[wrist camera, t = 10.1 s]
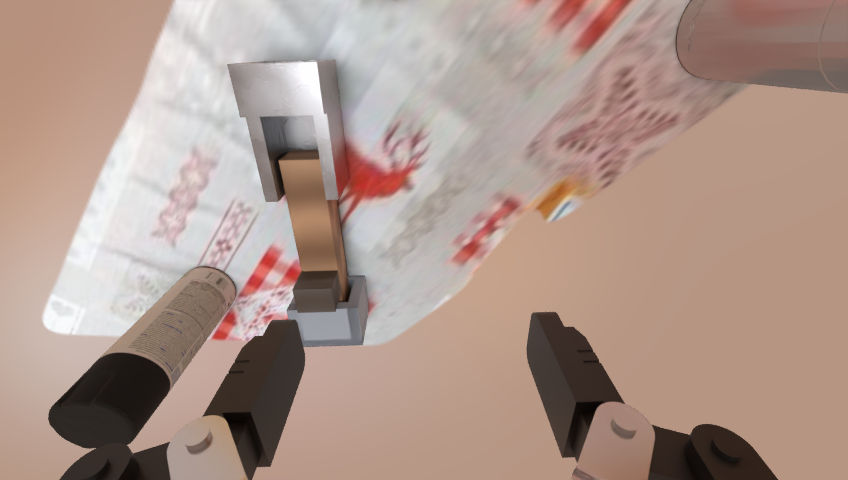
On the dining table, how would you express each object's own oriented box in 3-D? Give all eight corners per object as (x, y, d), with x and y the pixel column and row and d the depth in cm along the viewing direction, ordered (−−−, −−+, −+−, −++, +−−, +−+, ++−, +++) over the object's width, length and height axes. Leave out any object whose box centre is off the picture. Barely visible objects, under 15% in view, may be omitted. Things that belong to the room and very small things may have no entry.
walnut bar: (291, 150, 38) (265, 171, 32) (329, 149, 38) (311, 170, 32) (320, 303, 48) (305, 344, 41) (351, 302, 48) (340, 343, 41)
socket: (364, 275, 47) (357, 308, 41) (368, 309, 50) (362, 345, 44) (302, 277, 47) (286, 310, 41) (310, 311, 50) (295, 347, 44)
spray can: (176, 266, 46) (25, 403, 28) (229, 263, 46) (112, 398, 28) (194, 308, 49) (69, 456, 31) (244, 305, 49) (147, 451, 31)
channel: (262, 61, 35) (227, 64, 29) (334, 59, 35) (316, 62, 29) (286, 180, 41) (262, 205, 34) (349, 178, 41) (336, 203, 34)
